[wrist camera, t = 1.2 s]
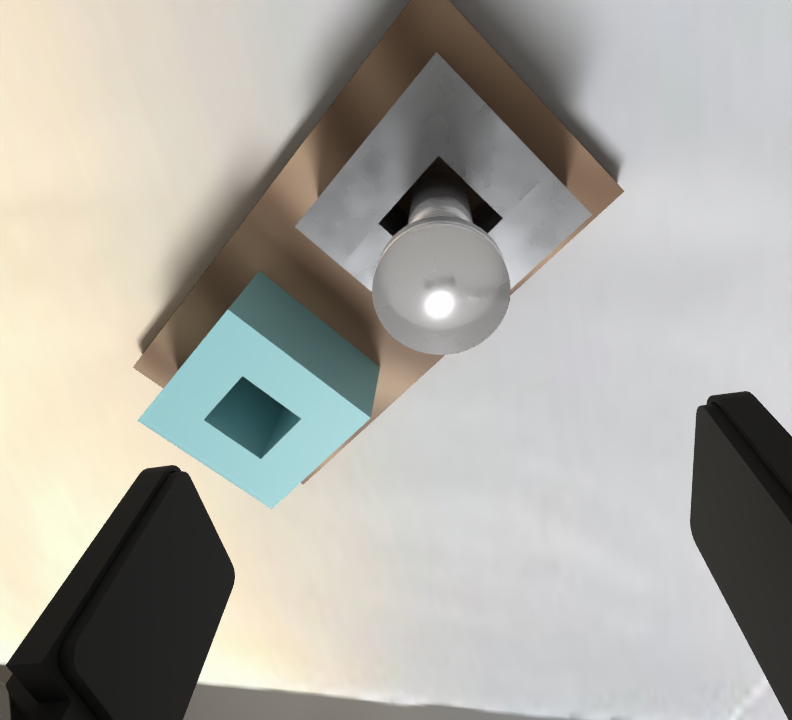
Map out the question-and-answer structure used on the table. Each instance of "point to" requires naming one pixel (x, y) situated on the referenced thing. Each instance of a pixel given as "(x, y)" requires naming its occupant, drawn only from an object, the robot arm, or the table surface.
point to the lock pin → (441, 272)
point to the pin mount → (467, 155)
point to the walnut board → (333, 147)
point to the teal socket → (266, 394)
